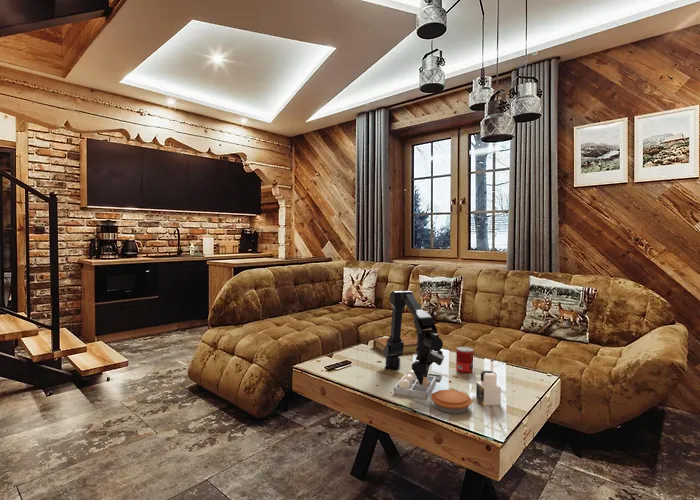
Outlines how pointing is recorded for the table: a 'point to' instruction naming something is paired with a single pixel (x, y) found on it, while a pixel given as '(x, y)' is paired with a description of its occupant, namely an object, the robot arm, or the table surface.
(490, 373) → the medicine bottle
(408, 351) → the diary
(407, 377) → the white egg
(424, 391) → the egg tray
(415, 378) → the white egg
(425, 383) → the brown egg
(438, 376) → the egg dish
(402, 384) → the white egg
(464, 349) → the canned food
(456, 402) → the pie
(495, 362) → the table surface
